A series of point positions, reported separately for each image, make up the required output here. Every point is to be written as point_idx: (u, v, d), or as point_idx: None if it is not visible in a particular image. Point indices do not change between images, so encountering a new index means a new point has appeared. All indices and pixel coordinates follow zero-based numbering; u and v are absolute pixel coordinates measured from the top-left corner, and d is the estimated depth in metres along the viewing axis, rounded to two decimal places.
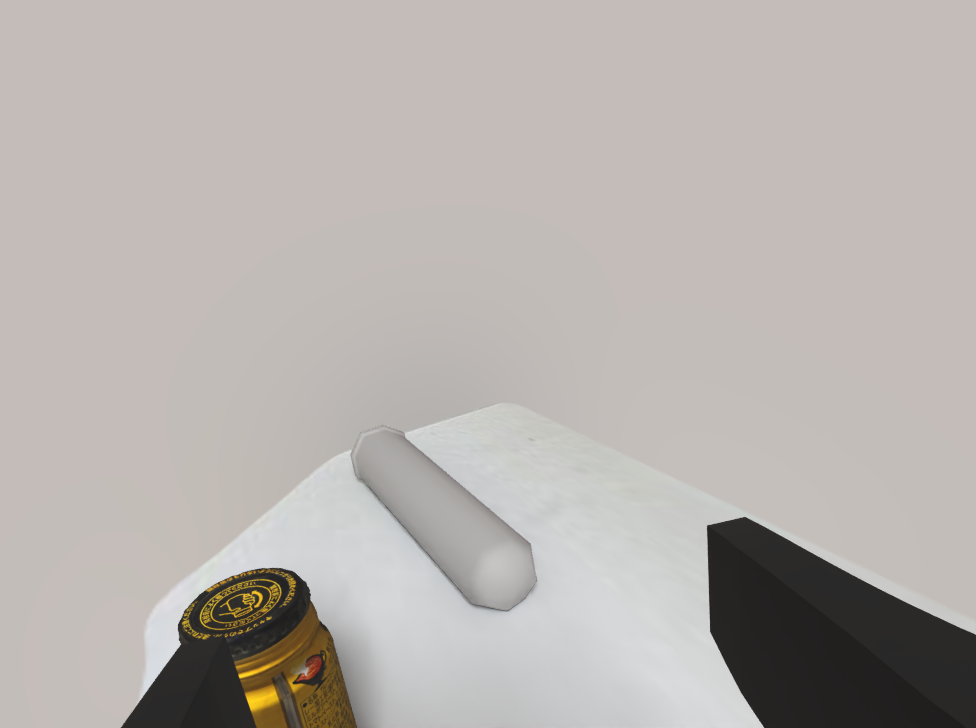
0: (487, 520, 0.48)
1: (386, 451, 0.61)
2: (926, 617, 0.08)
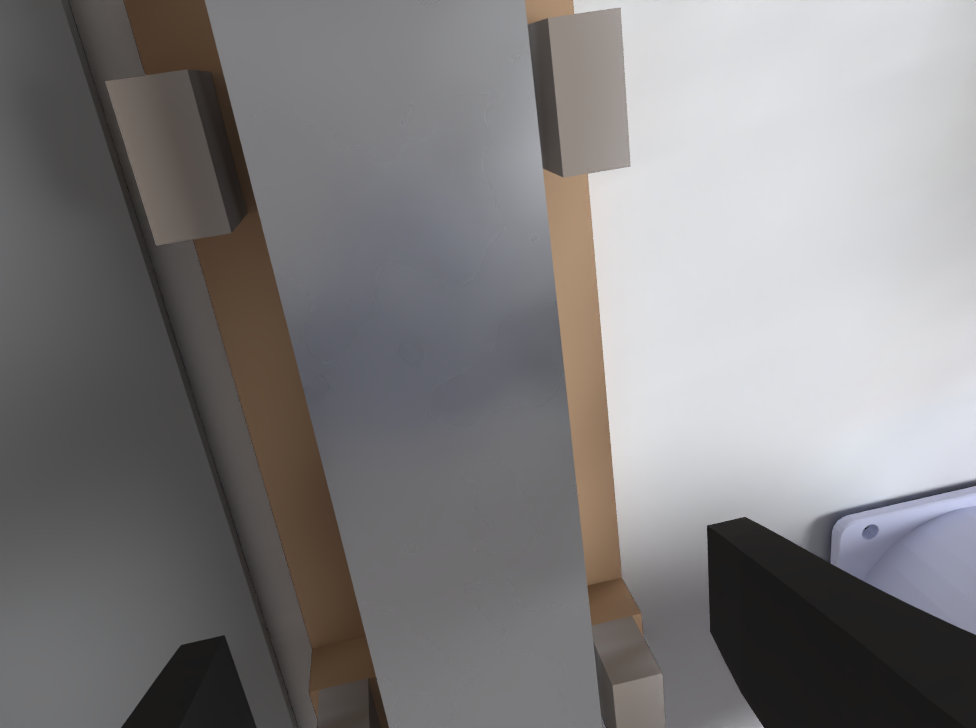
0: None
1: None
2: (926, 617, 0.08)
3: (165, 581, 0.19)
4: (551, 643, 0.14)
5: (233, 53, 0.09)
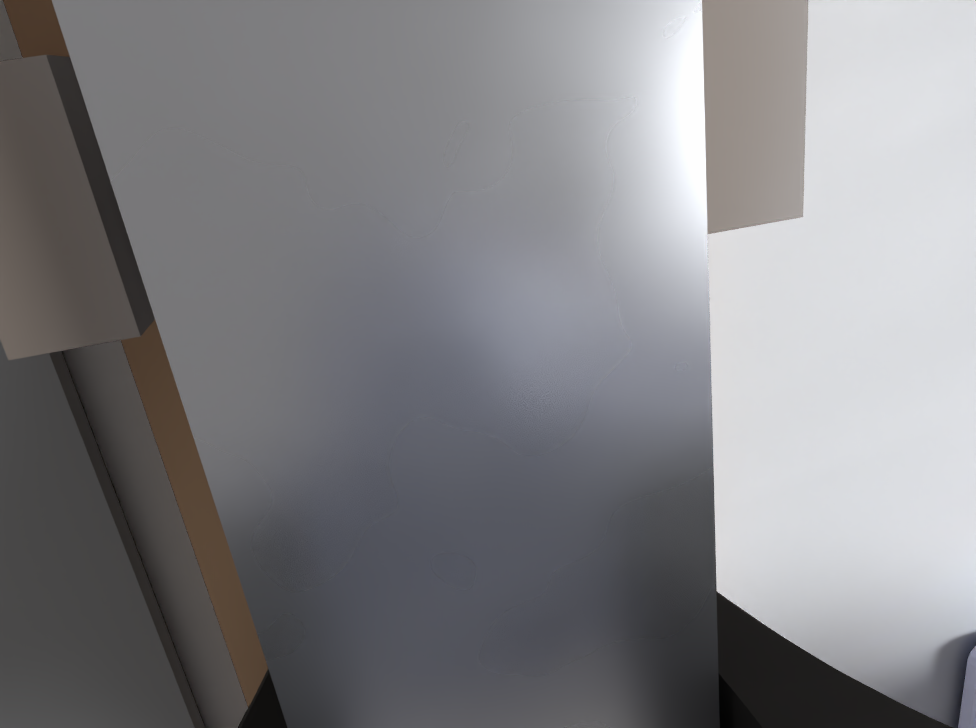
0: None
1: None
2: (793, 650, 0.08)
3: None
4: None
5: (90, 15, 0.04)
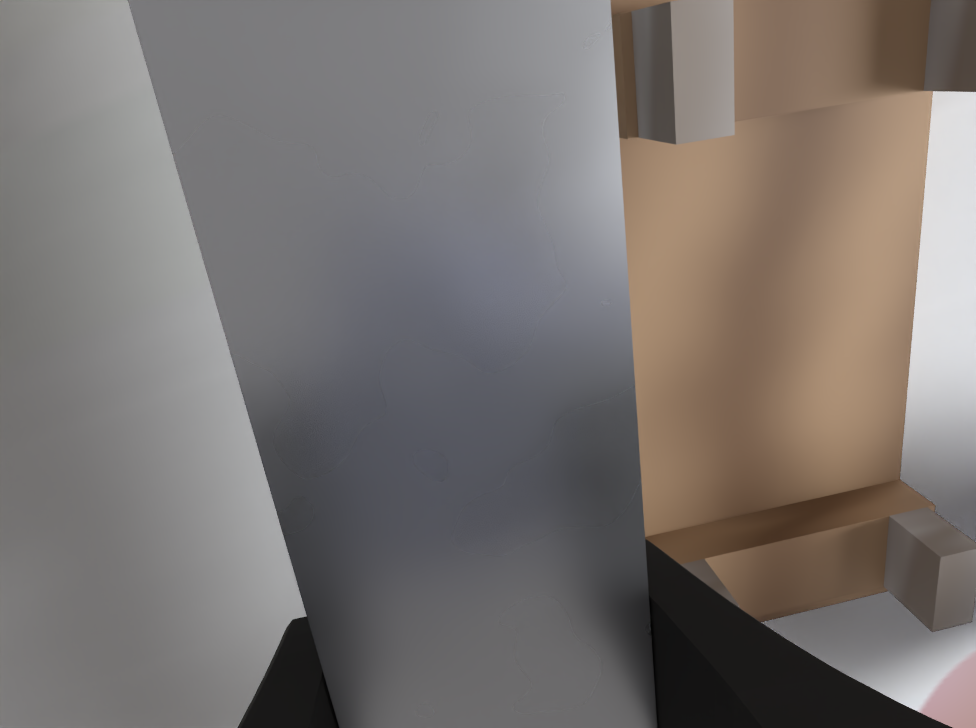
0: None
1: None
2: (793, 650, 0.08)
3: None
4: None
5: (161, 33, 0.06)
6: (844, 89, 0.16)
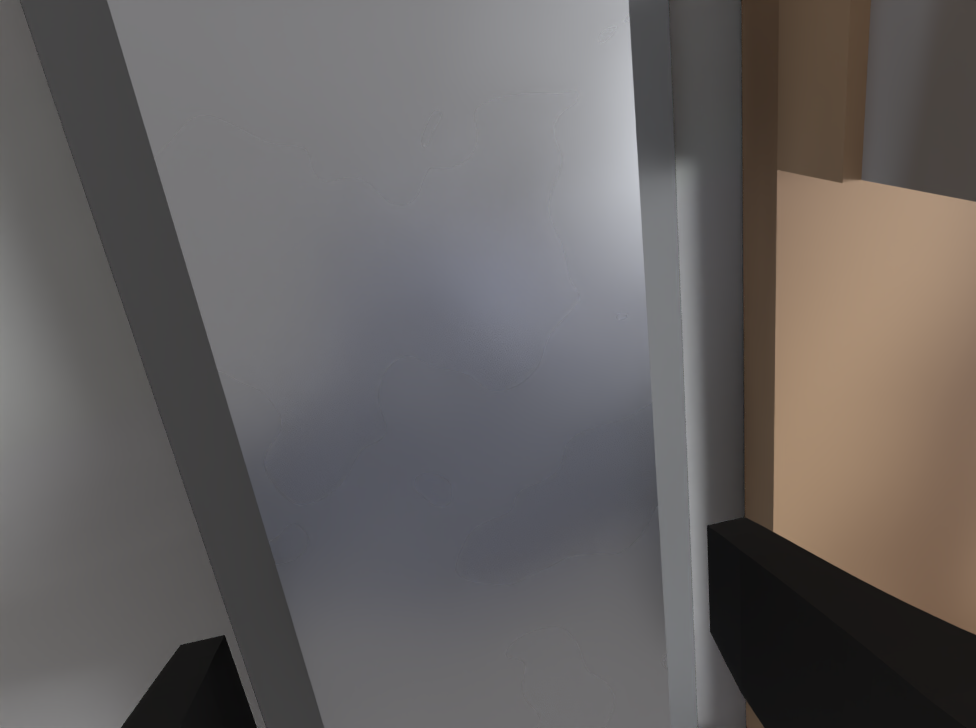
0: None
1: None
2: (926, 617, 0.08)
3: None
4: None
5: (140, 25, 0.06)
6: None
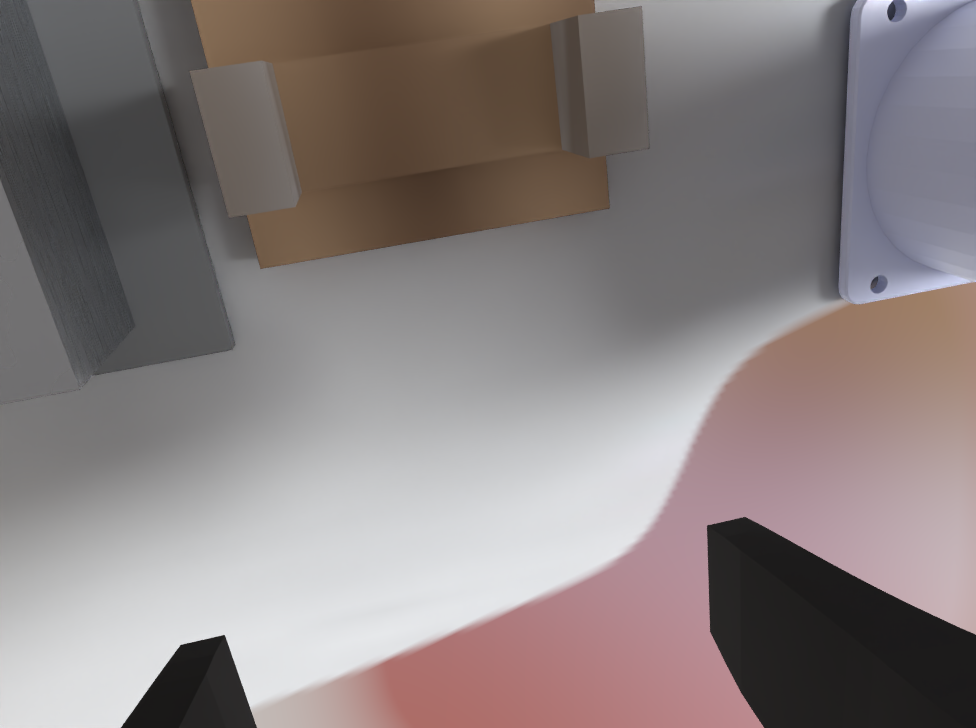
0: None
1: None
2: (926, 617, 0.08)
3: None
4: None
5: None
6: None
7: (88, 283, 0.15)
